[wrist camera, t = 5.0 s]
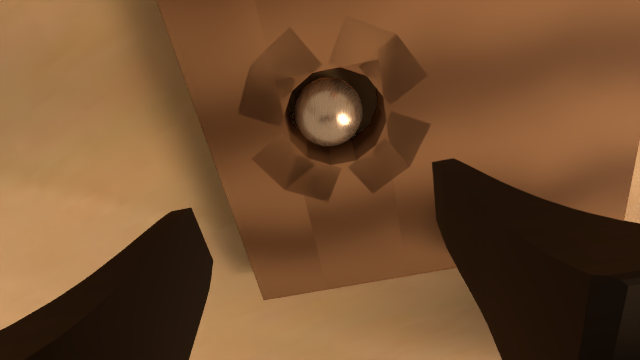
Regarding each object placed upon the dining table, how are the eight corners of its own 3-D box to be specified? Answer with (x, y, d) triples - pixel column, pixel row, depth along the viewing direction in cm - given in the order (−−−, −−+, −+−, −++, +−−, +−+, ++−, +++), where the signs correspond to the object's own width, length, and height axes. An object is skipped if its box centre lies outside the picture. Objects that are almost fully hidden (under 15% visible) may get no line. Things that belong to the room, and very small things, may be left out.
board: (591, 214, 24) (620, 239, 22) (267, 271, 26) (263, 300, 24) (657, -232, 15) (717, -264, 13) (140, -107, 16) (114, -117, 14)
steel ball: (320, 128, 22) (376, 129, 20) (290, 156, 20) (351, 160, 18) (307, 69, 20) (367, 65, 19) (273, 93, 18) (338, 91, 17)
